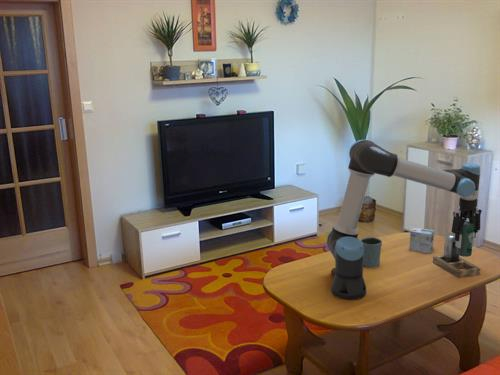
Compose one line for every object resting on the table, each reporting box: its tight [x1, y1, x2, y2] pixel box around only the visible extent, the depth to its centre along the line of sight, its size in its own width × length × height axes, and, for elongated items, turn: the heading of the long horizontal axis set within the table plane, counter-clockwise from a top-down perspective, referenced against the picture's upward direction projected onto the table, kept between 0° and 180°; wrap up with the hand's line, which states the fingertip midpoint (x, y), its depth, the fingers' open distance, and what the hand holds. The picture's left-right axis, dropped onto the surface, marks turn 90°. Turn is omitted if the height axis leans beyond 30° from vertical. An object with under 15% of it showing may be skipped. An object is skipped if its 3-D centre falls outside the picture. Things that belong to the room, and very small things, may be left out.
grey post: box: [443, 232, 460, 263], centre depth 244 cm, size 6×7×15 cm
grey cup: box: [360, 236, 383, 268], centre depth 249 cm, size 10×10×12 cm
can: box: [457, 220, 474, 258], centre depth 234 cm, size 6×6×15 cm
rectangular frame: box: [432, 254, 482, 279], centre depth 242 cm, size 12×19×3 cm, turn 17°
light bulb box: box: [409, 226, 435, 254], centre depth 264 cm, size 11×7×11 cm, turn 58°
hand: (464, 246), depth 235 cm, fingers closed on can, 6 cm apart
